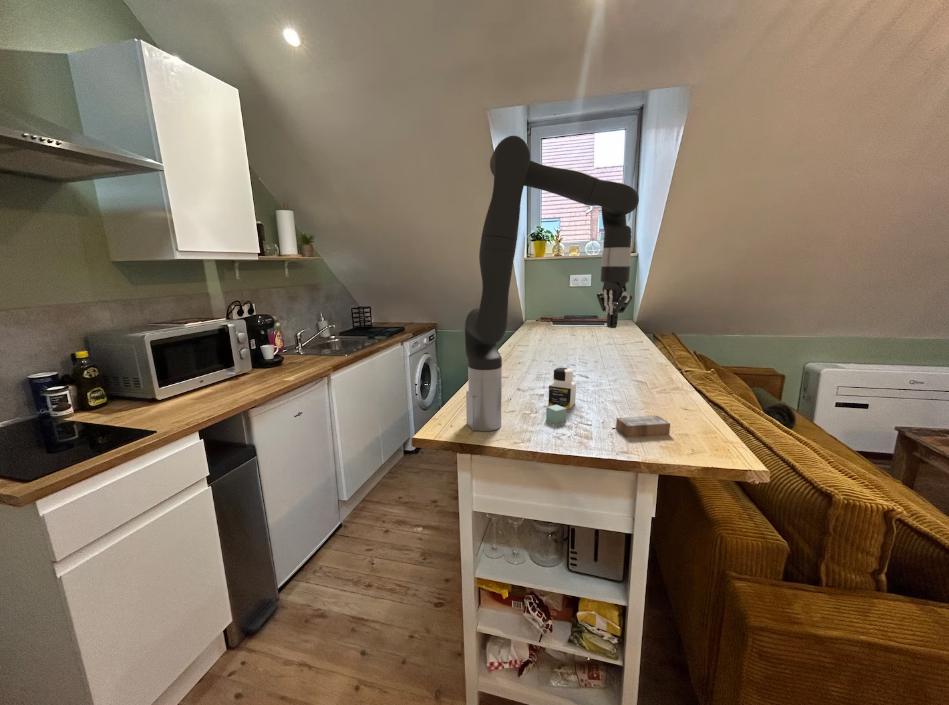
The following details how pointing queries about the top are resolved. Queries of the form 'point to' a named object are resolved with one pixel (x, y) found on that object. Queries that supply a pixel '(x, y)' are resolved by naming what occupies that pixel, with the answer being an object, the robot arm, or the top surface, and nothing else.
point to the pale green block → (556, 414)
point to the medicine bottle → (562, 388)
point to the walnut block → (642, 426)
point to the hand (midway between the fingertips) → (611, 327)
